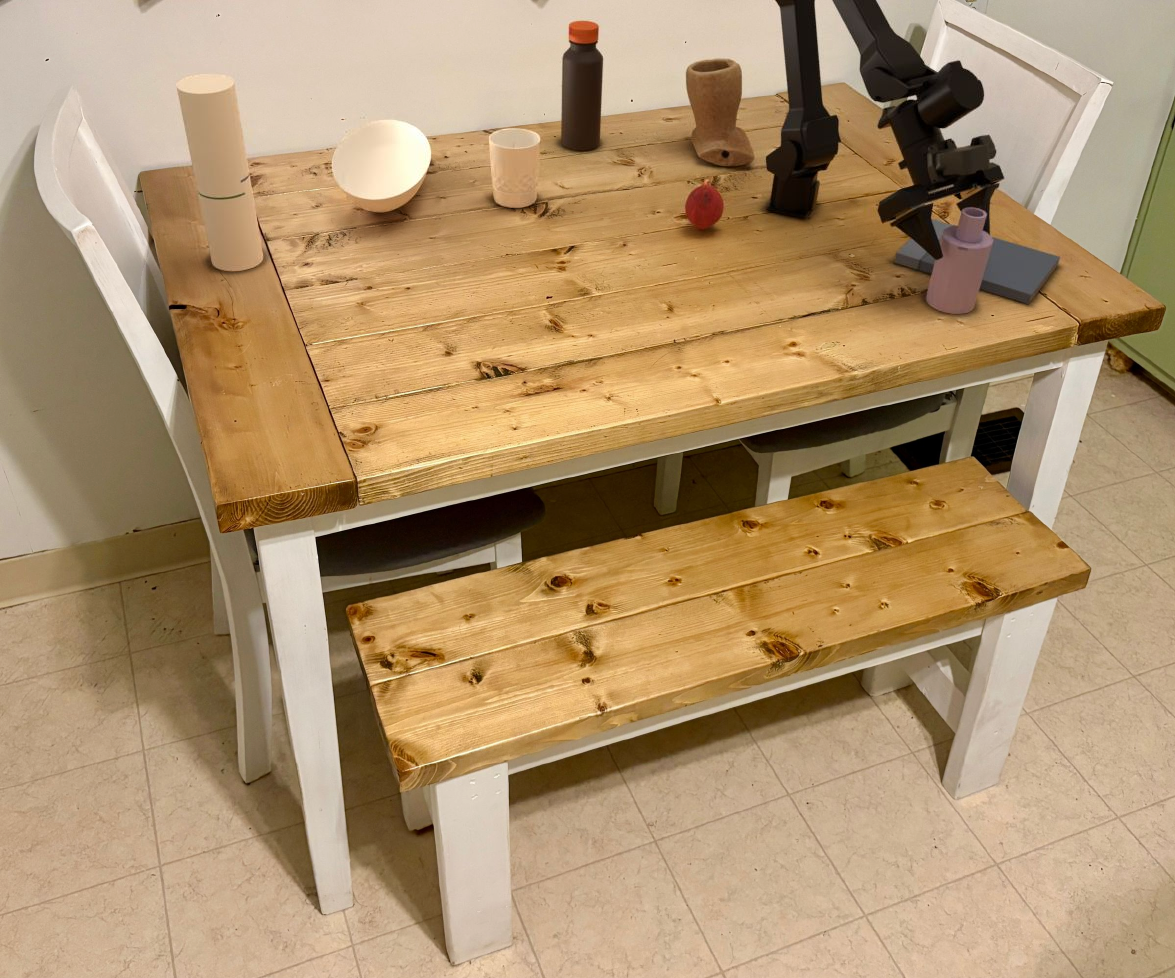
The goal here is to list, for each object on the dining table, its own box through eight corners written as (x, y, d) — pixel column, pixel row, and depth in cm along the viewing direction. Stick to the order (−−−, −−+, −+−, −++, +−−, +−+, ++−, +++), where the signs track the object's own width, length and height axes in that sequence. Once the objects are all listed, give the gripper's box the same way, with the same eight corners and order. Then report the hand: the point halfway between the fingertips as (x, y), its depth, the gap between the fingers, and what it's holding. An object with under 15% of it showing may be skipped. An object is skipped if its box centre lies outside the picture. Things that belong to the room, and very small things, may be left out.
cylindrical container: (272, 252, 162) (245, 78, 146) (245, 275, 157) (213, 96, 141) (229, 243, 164) (197, 70, 148) (201, 265, 158) (164, 88, 142)
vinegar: (586, 154, 192) (589, 34, 179) (553, 145, 195) (554, 26, 182) (607, 142, 197) (612, 24, 184) (575, 132, 199) (577, 15, 187)
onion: (718, 240, 169) (724, 190, 164) (680, 235, 170) (685, 186, 165) (722, 223, 174) (728, 174, 169) (685, 219, 175) (690, 170, 169)
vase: (921, 307, 156) (944, 217, 147) (930, 286, 161) (953, 197, 152) (969, 318, 154) (996, 228, 145) (977, 296, 159) (1003, 208, 150)
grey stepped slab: (894, 262, 166) (896, 252, 165) (928, 228, 175) (931, 218, 174) (1028, 304, 157) (1031, 294, 156) (1057, 266, 167) (1060, 255, 166)
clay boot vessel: (677, 133, 201) (684, 48, 191) (743, 135, 201) (754, 50, 191) (683, 169, 189) (692, 79, 179) (754, 170, 189) (766, 81, 180)
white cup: (481, 204, 176) (479, 142, 170) (503, 184, 182) (502, 124, 176) (527, 214, 174) (527, 151, 168) (548, 194, 180) (548, 133, 173)
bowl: (428, 237, 167) (426, 199, 163) (326, 237, 166) (321, 199, 162) (436, 155, 190) (434, 119, 186) (346, 154, 189) (342, 119, 185)
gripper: (912, 129, 141) (957, 245, 141) (1012, 103, 149) (1055, 213, 149) (857, 167, 151) (899, 275, 151) (953, 140, 159) (993, 243, 159)
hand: (963, 250), depth 152 cm, fingers open, 9 cm apart
